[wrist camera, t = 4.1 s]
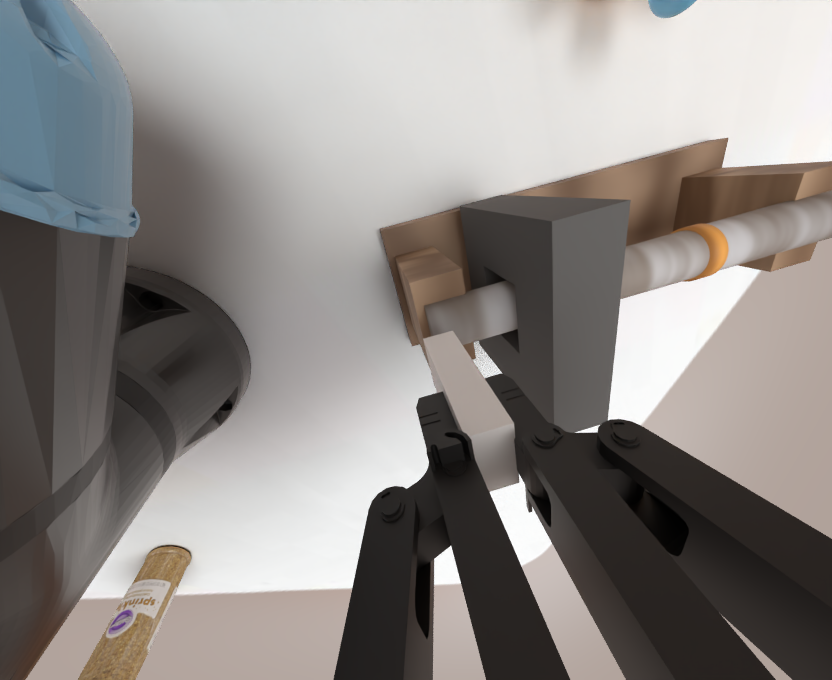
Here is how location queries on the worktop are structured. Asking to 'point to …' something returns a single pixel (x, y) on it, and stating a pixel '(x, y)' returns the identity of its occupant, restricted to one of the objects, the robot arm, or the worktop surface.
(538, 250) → the collar
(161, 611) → the sprinkles bottle
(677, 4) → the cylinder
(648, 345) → the worktop surface
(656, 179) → the pipe stand
